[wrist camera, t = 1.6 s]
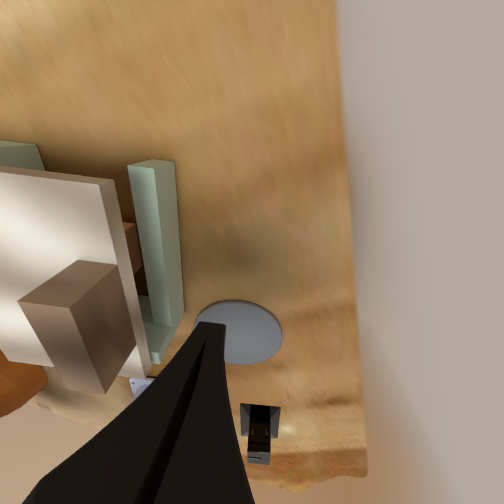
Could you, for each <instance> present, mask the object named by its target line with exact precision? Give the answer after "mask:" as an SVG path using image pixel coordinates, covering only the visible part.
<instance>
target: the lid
mask: <svg viewBox="0 0 504 504" xmlns="http://www.w3.org/2000/svg"><path fill="white" fill-rule="evenodd" d="M0 349H1V351H2V352H3V353H4V355H5V356H6V357H7V359H8V360H9V361H13V362H20V363H28V364H35V365H42V366H50V367H55V369H56V371H57V372H58V374H59V376H60V378H61V379H62V381H63V383H64V385H65V386H66V388H67V389H70V390H77V391H85V392H92V393H99V394H106V393H107V391H108V389H109V388H110V386H111V385H112V383H113V381H114V380H115V378H116V377H117V376H123V377H130V378H138V379H146V377H147V375H148V373H149V371H150V369H151V367H152V365H151V360H150V355H149V350H148V346H147V341H146V336H145V331H144V326H143V321H142V316H141V311H140V306H139V301H138V296H137V291H136V286H135V281H134V277H133V272H132V267H131V262H130V257H129V252H128V247H127V242H126V237H125V232H124V227H123V222H122V217H121V212H120V207H119V203H118V198H117V193H116V188H115V183H114V180H112V179H104V178H96V177H88V176H80V175H72V174H64V173H56V172H48V171H41V170H33V169H25V168H17V167H9V166H1V165H0Z"/></svg>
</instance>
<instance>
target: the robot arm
mask: <svg viewBox="0 0 504 504" xmlns="http://www.w3.org/2000/svg"><path fill="white" fill-rule="evenodd" d="M225 337H226V325H225V324H219V323H212V322H204V321H200V322H198V324H197V326H196V327H195V329H194V330H193V332H192V333H191V335H190V336H189V338H188V339H187V340H186V342H185V343H184V344H183V346H182V347H181V348H180V350H179V351H178V352H177V353H176V355H175V356H174V357H173V358H172V360H171V361H170V362H169V363H168V364H167V366H166V367H165V368H164V369H163V370H162V371H161V372H160V374H159V375H158V376H157V377H156V378H148V377H146V379H138V378H129V382H130V386H131V389H132V392H133V395H134V396H133V398H132V400H131V402H130V404H129V406H128V407H127V408H125V409H124V410H123V411H122V412H121V413H120V414H119V415H118V416H117V417H116V418H115V419H114V420H113V421H111V422H110V423H109V424H108V425H107V426H106V427H104V428H103V429H102V430H101V431H100V432H99V433H98V434H96V435H95V436H94V437H93V438H92V439H91V440H89V441H88V442H87V443H86V444H85V445H83V446H82V447H81V448H80V449H79V450H77V451H76V452H75V453H74V454H72V455H71V456H70V457H69V458H67V459H66V460H65V461H63V462H62V463H61V464H60V465H58V466H57V467H56V468H54V469H53V470H52V471H51V472H49V473H48V474H47V475H45V476H44V477H43V478H42V479H41V480H40V481H39V482H38V484H37V485H36V486H35V487H34V489H33V490H32V491H31V493H30V494H29V495H28V496H27V498H26V499H25V500H24V502H23V503H22V504H255V502H254V499H253V496H252V492H251V489H250V486H249V482H248V478H247V475H246V471H245V468H244V464H243V460H242V456H241V452H240V448H239V444H238V440H237V435H236V431H235V427H234V422H233V417H232V412H231V407H230V401H229V395H228V389H227V381H226V372H225V360H224V350H225Z"/></svg>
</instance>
